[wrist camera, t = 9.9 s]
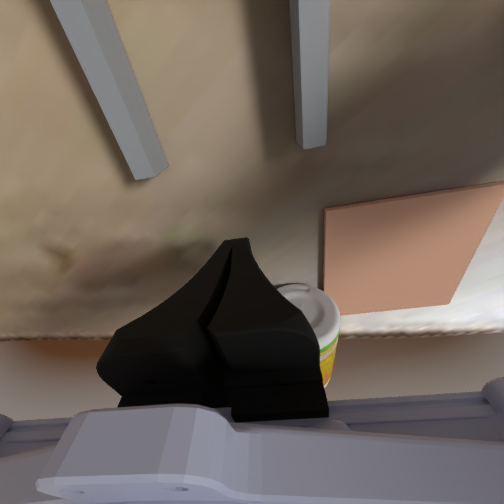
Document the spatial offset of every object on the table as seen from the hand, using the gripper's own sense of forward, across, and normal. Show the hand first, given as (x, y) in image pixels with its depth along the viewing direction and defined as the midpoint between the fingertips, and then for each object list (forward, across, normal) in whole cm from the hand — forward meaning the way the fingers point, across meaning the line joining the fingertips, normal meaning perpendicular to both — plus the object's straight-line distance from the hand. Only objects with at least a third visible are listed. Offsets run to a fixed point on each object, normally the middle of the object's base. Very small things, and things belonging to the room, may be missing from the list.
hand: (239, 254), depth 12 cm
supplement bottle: (0, -3, +5) cm, 6 cm away
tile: (+3, -10, +4) cm, 12 cm away
